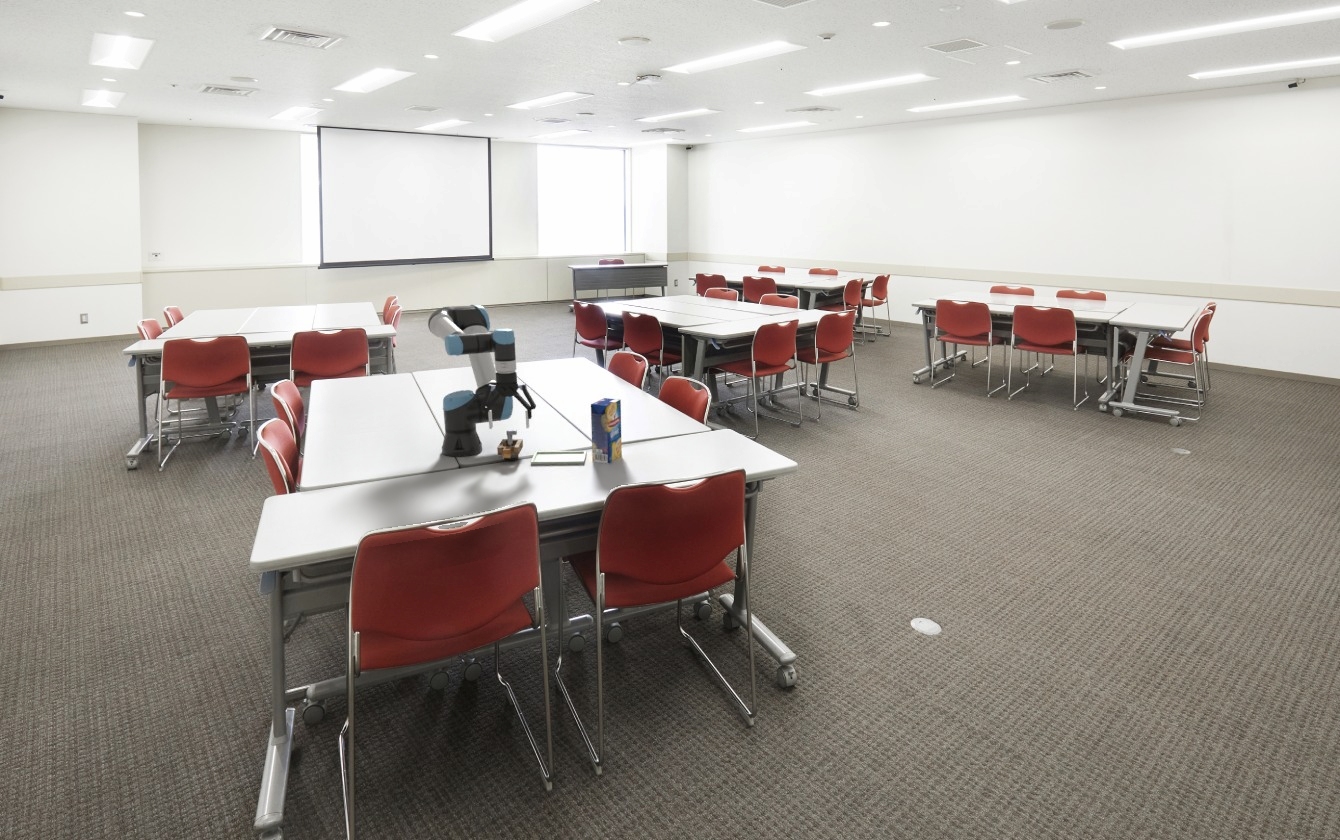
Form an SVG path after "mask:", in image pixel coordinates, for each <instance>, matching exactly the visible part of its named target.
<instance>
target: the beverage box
mask: <svg viewBox="0 0 1340 840" xmlns="http://www.w3.org/2000/svg"><path fill="white" fill-rule="evenodd" d="M621 403H622V401H621V399H619V398H617V399H616V398H608V397H607V398H606V397H603V398H602V399H599V400H597V401H595V402H593V403H591V404H590V418H591V419H590V420H591V456H592V462H595V463H603V464H610V463H612V462H614V461H615V460H617V459H618V458H620V457H621V456H623V455H622V409H621V408H622V406H621Z"/></svg>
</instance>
